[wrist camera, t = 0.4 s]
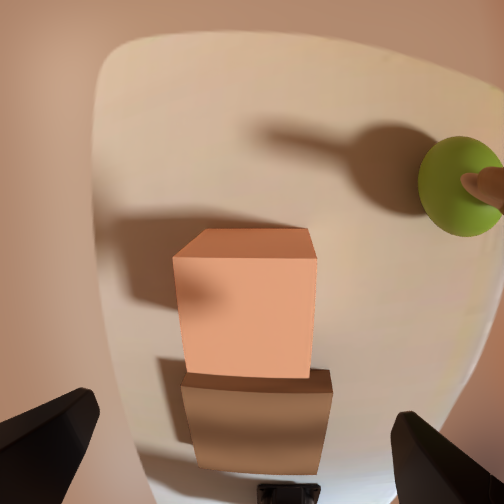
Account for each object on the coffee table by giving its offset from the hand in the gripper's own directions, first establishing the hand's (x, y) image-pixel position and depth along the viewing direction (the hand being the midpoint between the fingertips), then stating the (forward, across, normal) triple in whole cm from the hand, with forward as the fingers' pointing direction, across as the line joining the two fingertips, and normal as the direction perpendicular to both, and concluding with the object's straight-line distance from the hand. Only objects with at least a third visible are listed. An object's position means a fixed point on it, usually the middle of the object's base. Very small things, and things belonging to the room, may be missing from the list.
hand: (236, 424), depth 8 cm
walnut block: (+13, 0, +12) cm, 17 cm away
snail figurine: (+12, -11, -6) cm, 18 cm away
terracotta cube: (+12, +1, 0) cm, 12 cm away
